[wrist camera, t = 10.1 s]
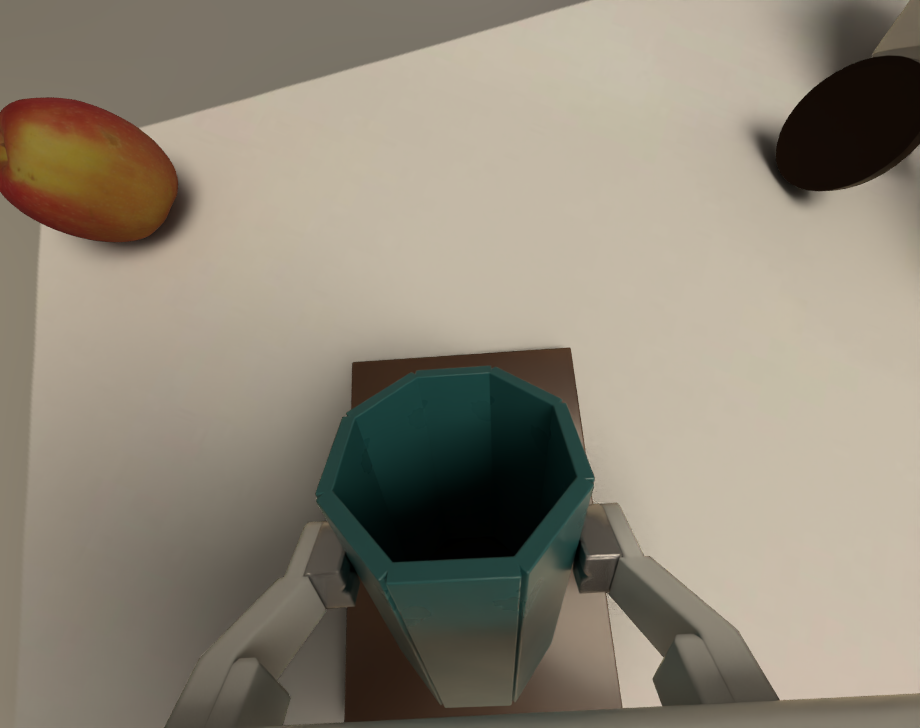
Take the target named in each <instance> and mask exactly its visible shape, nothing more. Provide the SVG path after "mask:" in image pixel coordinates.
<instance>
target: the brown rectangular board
mask: <svg viewBox="0 0 920 728" xmlns="http://www.w3.org/2000/svg"><path fill="white" fill-rule="evenodd" d="M476 366H491V368H494V367H498V368H500V369H502V370H504V371H506V372H508V373H510V374H512V375H514V376H516V377H518V378H520V379H522V380H524V381H526V382H528V383H530V384H532V385H534V386H537V387H539V388H541V389H543V390H545V391H547V392H549V393H551V394H553V395H555V396H557V397H559V398H561V399H562V403H566V404H567V406H568V409H569V411H570V414H571V417H572V419H573V422H574V425H575V427H576V430H577V433H578V435H579V438H580V440H581V443H582V446H583V448H584V451H585V445H584V438H583V431H582V424H581V417H580V410H579V403H578V396H577V389H576V382H575V375H574V368H573V361H572V354H571V349H570V348H555V349H541V350H526V351H511V352H497V353H482V354H467V355H453V356H438V357H423V358H409V359H394V360H379V361H365V362H353V363H352V399H351V410H352V409H353V408H355V407H356V406H358V405H360V404H361V403H363V402H364V401H366V400H367V399H369V398H371V397H372V396H374V395H375V394H377V393H379V392H380V391H382V390H383V389H385V388H387V387H388V386H390V385H391V384H393V383H395V382H396V381H398V380H399V379H401V378H403V377H404V376H406V375H407V374H409V373H411V372H412V373H414V374H415V373H416V371H417V370H431V369H446V368H461V367H476ZM585 454H586V452H585ZM589 504H593V500H592V495H591V498H590V502H589ZM573 562H574V561H573ZM572 569H573V565H572ZM572 569H571V573H570V576H569V580H568V584H567V587H566V591H565V595H564V599H563V602H562V606H561V610H560V613H559V617H558V621H557V625H556V628H555V632H554V636H553V639H552V643H551V645H550V646H549V648H548V650H547V651H546V653H545V655H544V656H543V658H542V660H541V661H540V663H539V665H538V666H537V668H536V670H535V671H534V673H533V675H532V676H531V678H530V679H529V681H528V683H527V684H526V686H525V688H524V689H523V691H522V693H521V694H520V696H519V698H518V699H517V701H516V702H514V701H513V700H512V704H511V705H510V706H483V707H455V708H445V707H444V705H443V704H442V705H440V704H439V702H438V701H437V700H436V698H435V697H434V695H433V694H432V693H431V691H430V690H429V688H428V687H427V686H426V684H425V683H424V681H423V680H422V679H421V677H420V676H419V674H418V673H417V672H416V670H415V669H414V667H413V666H412V665H411V663H410V662H409V660H408V659H407V658H406V656H405V655H404V653H403V652H402V651H401V649H400V648H399V646H398V644H397V642H396V641H395V639H394V637H393V635H392V634H391V632H390V630H389V628H388V627H387V625H386V623H385V621H384V620H383V618H382V616H381V614H380V612H379V611H378V609H377V607H376V605H375V604H374V602H373V600H372V598H371V597H370V595H369V593H368V591H367V590H366V588H365V586H364V584H363V583H362V581H361V579H360V577H359V576H358V578H359V580H360V586H359V591H358V595H357V600H356V604H355V606H354V607H347V627H346V672H345V718H344V722H362V721H381V720H401V719H421V718H441V717H461V716H481V715H500V714H520V713H540V712H560V711H580V710H600V709H619V708H622V701H621V694H620V687H619V680H618V673H617V667H616V660H615V653H614V646H613V639H612V632H611V625H610V618H609V611H608V604H607V597H606V593H579V591H578V587H577V584H576V580H575V577H574V574H573V570H572ZM357 575H358V574H357Z"/></svg>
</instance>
